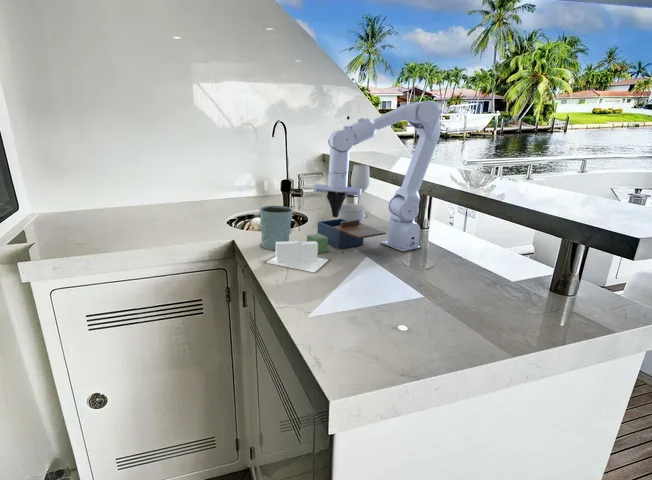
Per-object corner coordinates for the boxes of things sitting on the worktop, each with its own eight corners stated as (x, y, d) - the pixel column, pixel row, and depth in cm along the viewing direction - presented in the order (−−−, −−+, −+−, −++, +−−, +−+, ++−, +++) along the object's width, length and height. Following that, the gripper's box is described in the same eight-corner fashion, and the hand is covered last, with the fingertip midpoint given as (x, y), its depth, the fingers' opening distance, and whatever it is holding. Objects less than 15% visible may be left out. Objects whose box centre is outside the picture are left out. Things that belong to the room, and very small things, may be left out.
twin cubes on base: (265, 262, 107) (265, 243, 105) (283, 251, 116) (283, 233, 114) (314, 272, 101) (315, 252, 99) (329, 259, 110) (330, 240, 108)
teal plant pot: (253, 245, 121) (253, 208, 117) (275, 238, 128) (276, 203, 124) (276, 253, 114) (276, 214, 110) (298, 245, 122) (299, 209, 118)
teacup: (365, 231, 139) (367, 210, 136) (335, 230, 139) (337, 209, 136) (359, 221, 152) (361, 202, 149) (332, 220, 152) (333, 201, 149)
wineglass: (367, 218, 157) (372, 166, 150) (349, 217, 157) (353, 166, 150) (364, 213, 164) (369, 164, 158) (347, 213, 165) (350, 164, 158)
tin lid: (385, 234, 115) (386, 227, 114) (359, 238, 110) (359, 231, 109) (358, 224, 125) (359, 217, 124) (333, 228, 120) (333, 221, 119)
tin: (362, 244, 124) (364, 226, 122) (338, 249, 119) (340, 230, 117) (340, 234, 134) (341, 218, 132) (316, 238, 129) (317, 221, 127)
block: (327, 251, 117) (328, 237, 115) (314, 253, 115) (315, 239, 113) (318, 247, 120) (319, 233, 119) (306, 249, 118) (307, 235, 117)
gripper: (365, 172, 114) (361, 216, 119) (319, 169, 119) (317, 211, 124) (360, 175, 108) (356, 221, 113) (312, 171, 113) (310, 216, 118)
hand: (335, 216), depth 118 cm, fingers closed
